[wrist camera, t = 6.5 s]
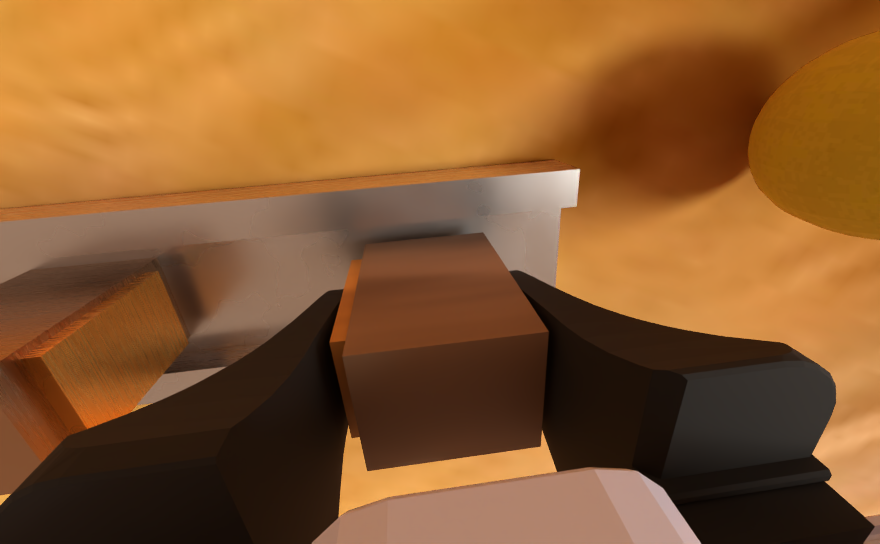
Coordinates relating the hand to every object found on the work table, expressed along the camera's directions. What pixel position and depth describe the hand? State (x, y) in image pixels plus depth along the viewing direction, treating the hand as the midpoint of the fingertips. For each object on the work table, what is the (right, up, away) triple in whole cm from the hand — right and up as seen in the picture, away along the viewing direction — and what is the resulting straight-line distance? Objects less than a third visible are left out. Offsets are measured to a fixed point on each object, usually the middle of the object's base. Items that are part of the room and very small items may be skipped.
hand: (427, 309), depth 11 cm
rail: (-6, +1, +3) cm, 7 cm away
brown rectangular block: (0, +1, +2) cm, 2 cm away
